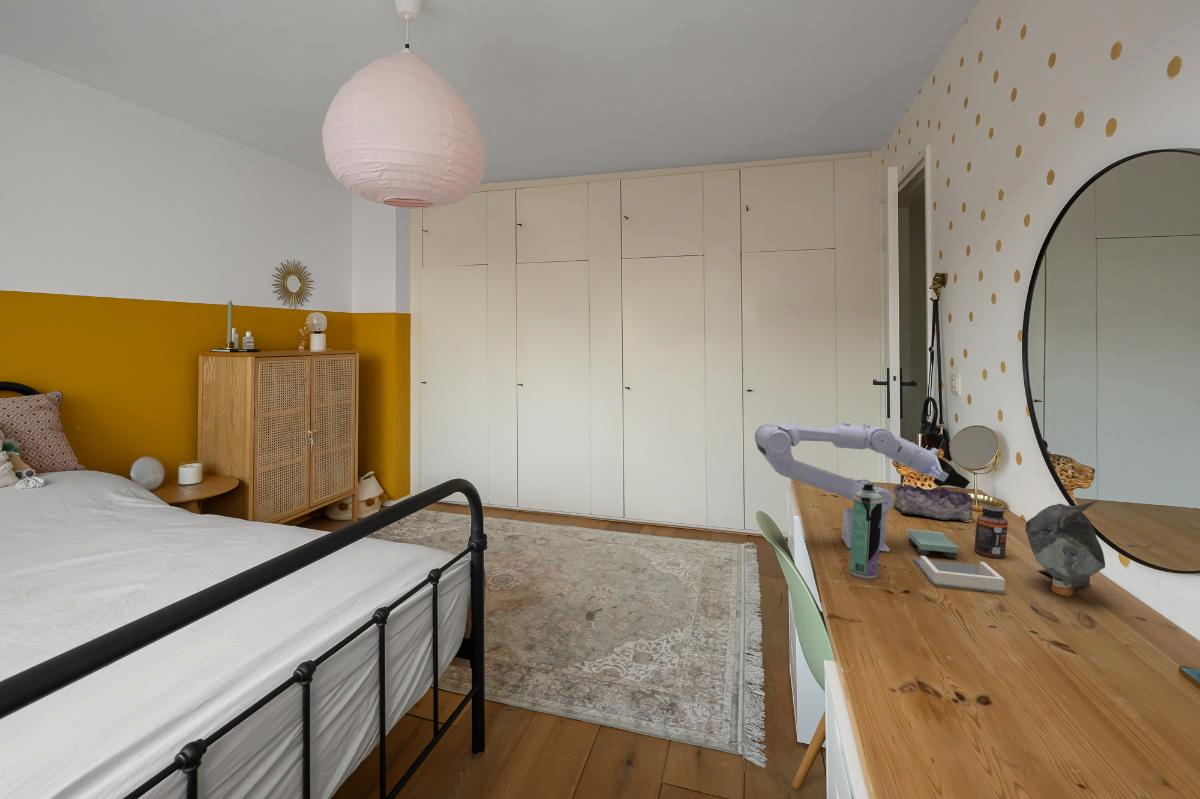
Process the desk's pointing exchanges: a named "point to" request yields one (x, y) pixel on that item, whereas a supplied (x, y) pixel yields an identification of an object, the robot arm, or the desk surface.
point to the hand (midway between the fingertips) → (958, 477)
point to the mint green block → (932, 542)
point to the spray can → (866, 533)
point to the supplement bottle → (991, 532)
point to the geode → (933, 503)
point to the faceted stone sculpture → (1065, 546)
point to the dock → (961, 575)
